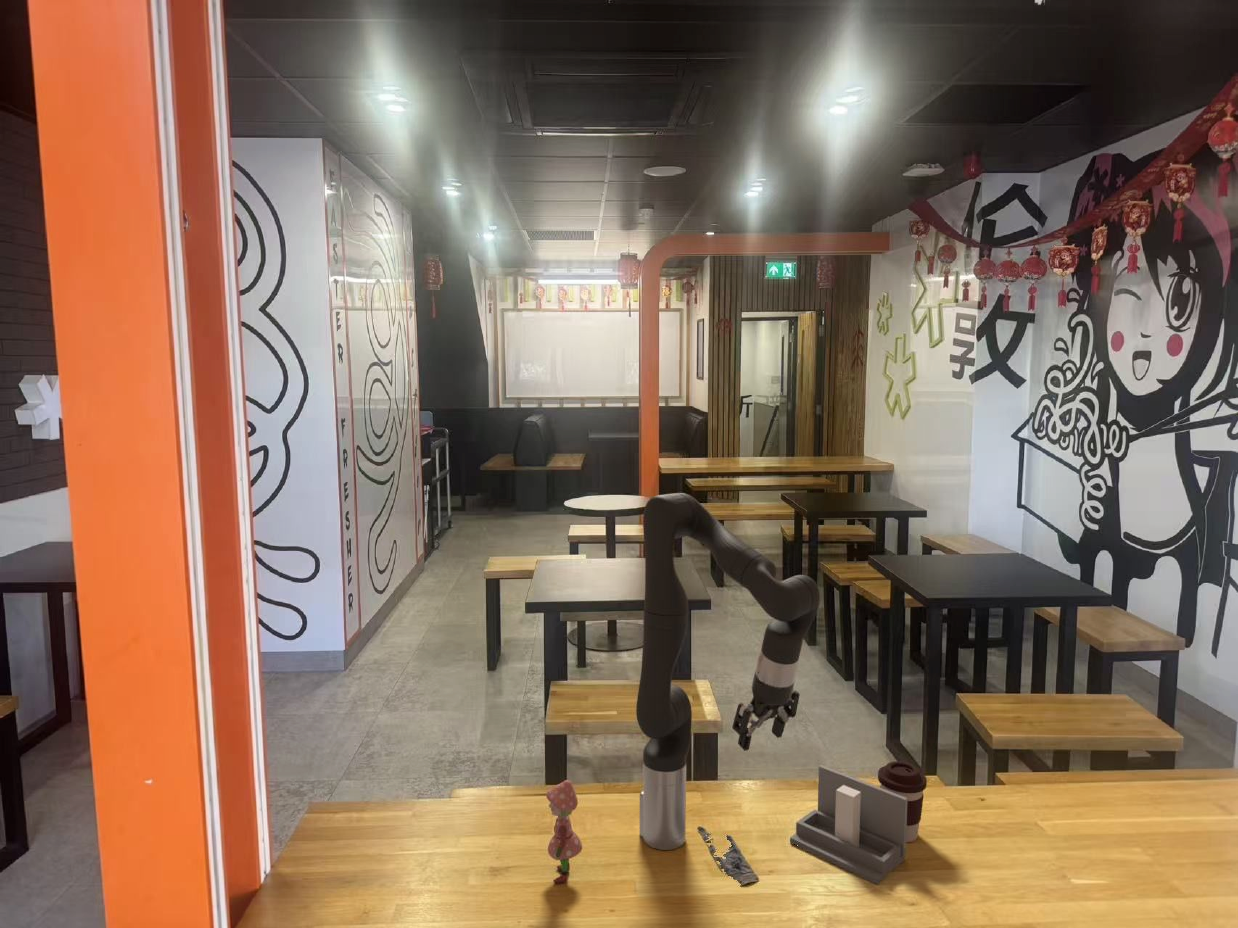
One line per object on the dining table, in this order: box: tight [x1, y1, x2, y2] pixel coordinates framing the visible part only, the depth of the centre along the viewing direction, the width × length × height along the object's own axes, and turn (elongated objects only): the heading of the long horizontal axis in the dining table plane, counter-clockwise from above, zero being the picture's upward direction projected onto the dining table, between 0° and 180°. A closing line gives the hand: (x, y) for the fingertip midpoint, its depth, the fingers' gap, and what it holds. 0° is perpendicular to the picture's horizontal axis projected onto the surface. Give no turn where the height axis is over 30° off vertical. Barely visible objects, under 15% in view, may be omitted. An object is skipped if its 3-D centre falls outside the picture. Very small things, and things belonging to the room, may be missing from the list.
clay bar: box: [835, 785, 861, 847], centre depth 163 cm, size 4×3×12 cm
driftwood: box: [697, 825, 760, 887], centre depth 162 cm, size 21×7×2 cm, turn 11°
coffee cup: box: [877, 761, 928, 843], centre depth 170 cm, size 10×10×15 cm
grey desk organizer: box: [789, 764, 908, 886], centre depth 163 cm, size 20×12×13 cm, turn 45°
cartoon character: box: [546, 779, 583, 884], centre depth 154 cm, size 10×7×20 cm
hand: (759, 741), depth 153 cm, fingers open, 8 cm apart
